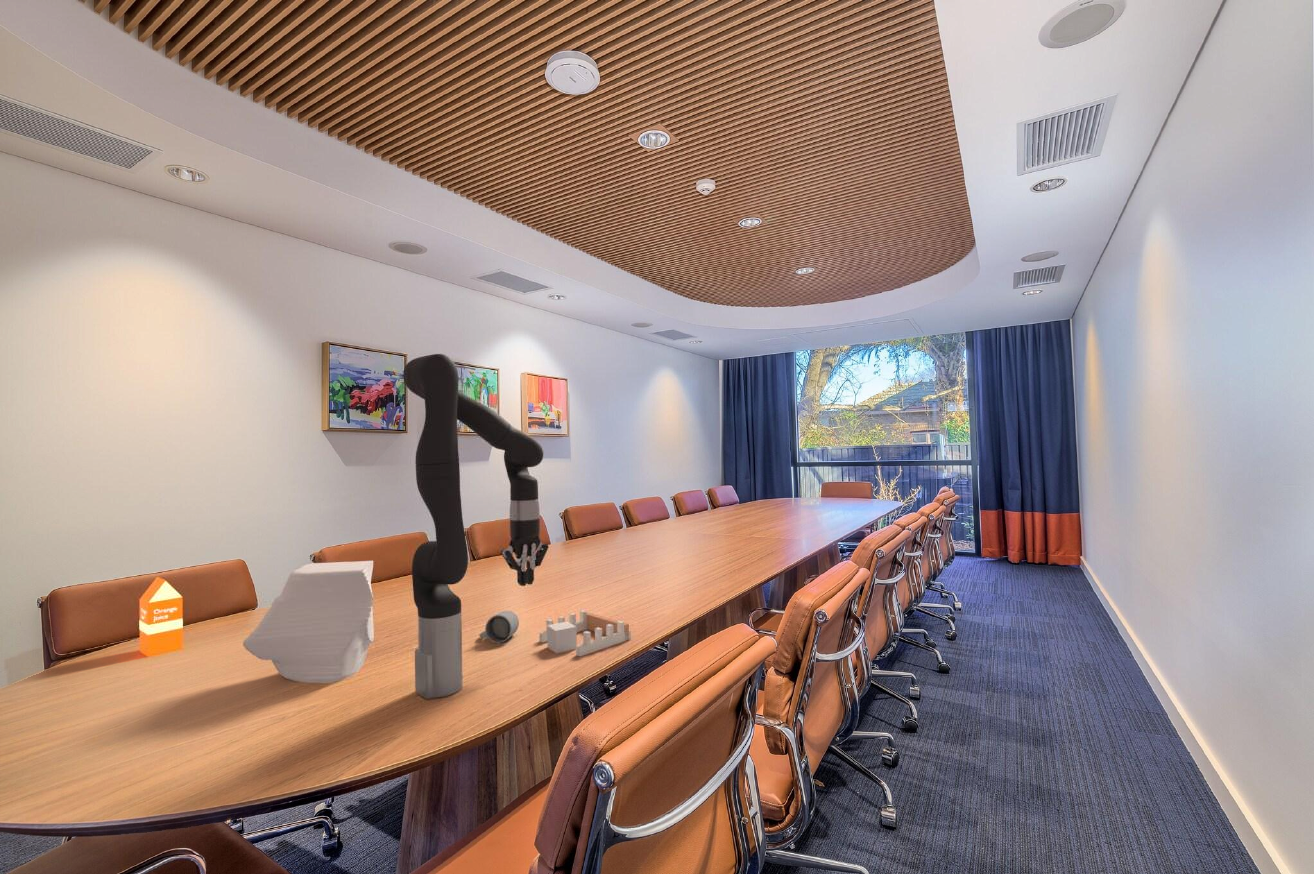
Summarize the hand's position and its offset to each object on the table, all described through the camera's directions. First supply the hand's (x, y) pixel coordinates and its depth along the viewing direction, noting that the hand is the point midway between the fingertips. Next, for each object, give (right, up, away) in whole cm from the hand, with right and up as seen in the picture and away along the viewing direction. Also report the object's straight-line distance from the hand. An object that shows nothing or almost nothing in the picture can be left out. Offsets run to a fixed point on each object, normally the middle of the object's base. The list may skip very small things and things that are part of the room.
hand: (525, 584), depth 151 cm
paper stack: (-50, -20, -5) cm, 54 cm away
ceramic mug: (-11, -20, +16) cm, 28 cm away
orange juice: (-105, -22, +13) cm, 108 cm away
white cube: (+8, -19, +7) cm, 22 cm away
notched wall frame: (+14, -19, +13) cm, 27 cm away
